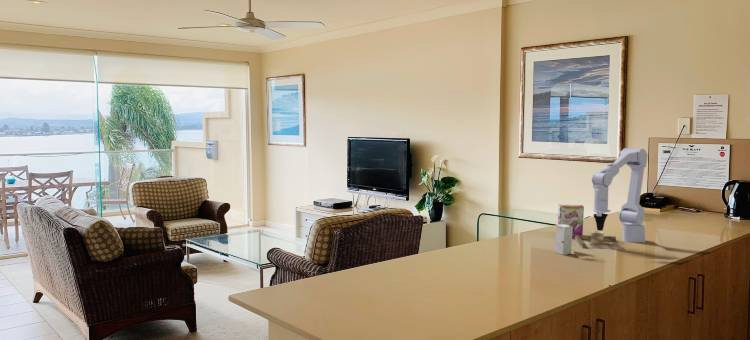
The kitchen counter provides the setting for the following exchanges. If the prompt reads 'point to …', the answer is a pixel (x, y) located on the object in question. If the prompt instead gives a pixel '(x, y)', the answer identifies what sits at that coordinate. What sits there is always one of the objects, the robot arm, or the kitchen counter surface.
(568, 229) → the skincare box
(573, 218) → the candy bar box
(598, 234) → the block
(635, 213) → the robot arm
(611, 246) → the board
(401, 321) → the kitchen counter surface
